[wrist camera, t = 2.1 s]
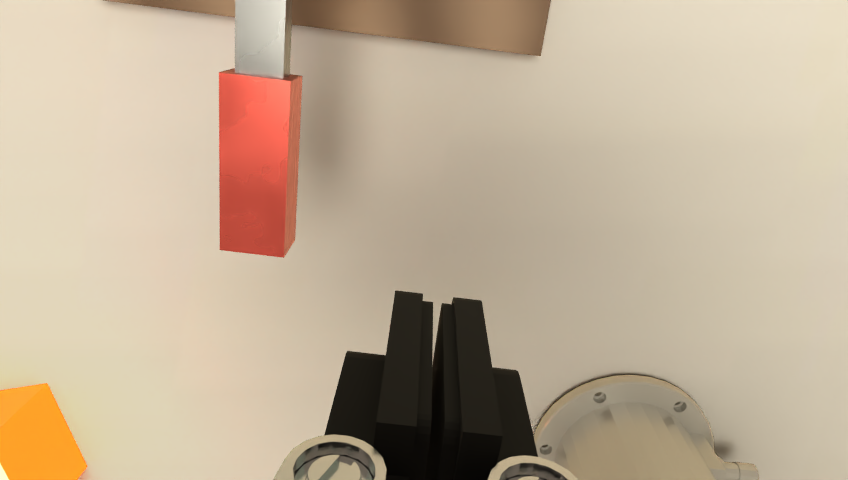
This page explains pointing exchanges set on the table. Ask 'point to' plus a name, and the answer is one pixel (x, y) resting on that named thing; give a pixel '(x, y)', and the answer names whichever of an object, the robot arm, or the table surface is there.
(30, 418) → the orange juice
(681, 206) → the table surface
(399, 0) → the board
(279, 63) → the lever
